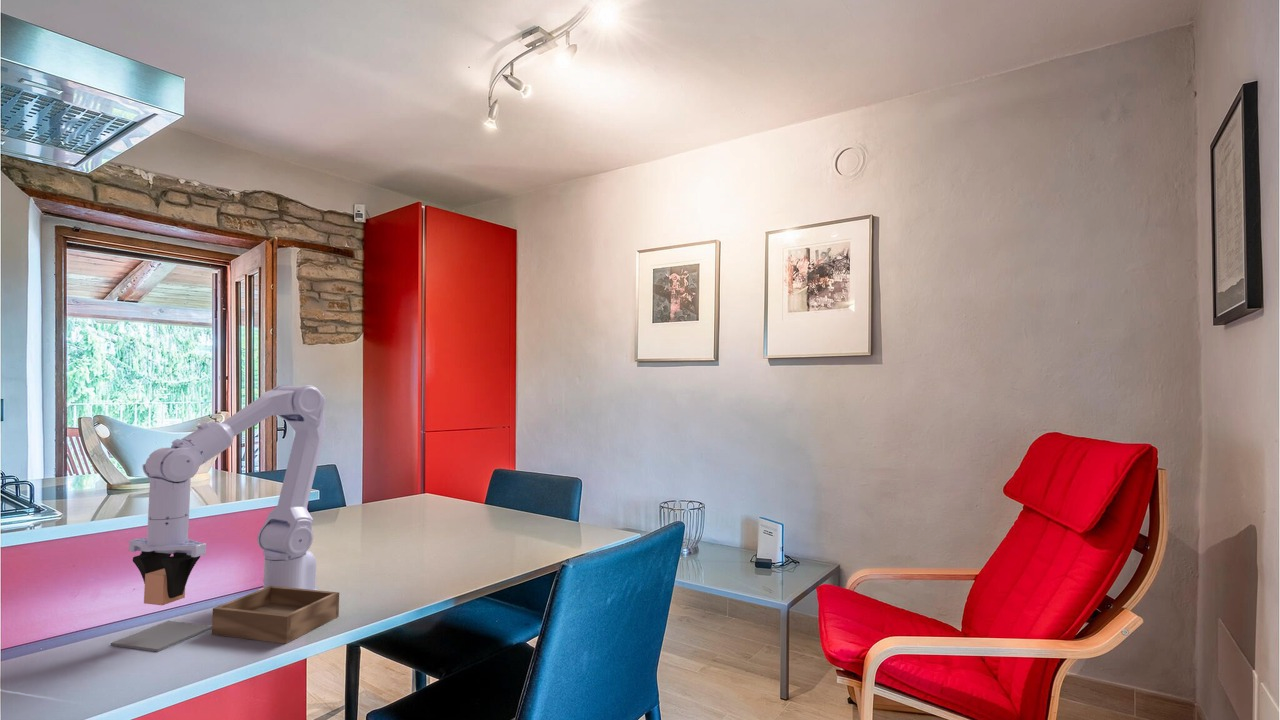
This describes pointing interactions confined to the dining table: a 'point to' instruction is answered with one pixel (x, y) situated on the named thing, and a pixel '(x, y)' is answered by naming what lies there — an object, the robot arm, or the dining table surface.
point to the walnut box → (275, 614)
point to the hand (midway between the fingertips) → (165, 595)
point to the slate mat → (162, 636)
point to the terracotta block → (158, 589)
